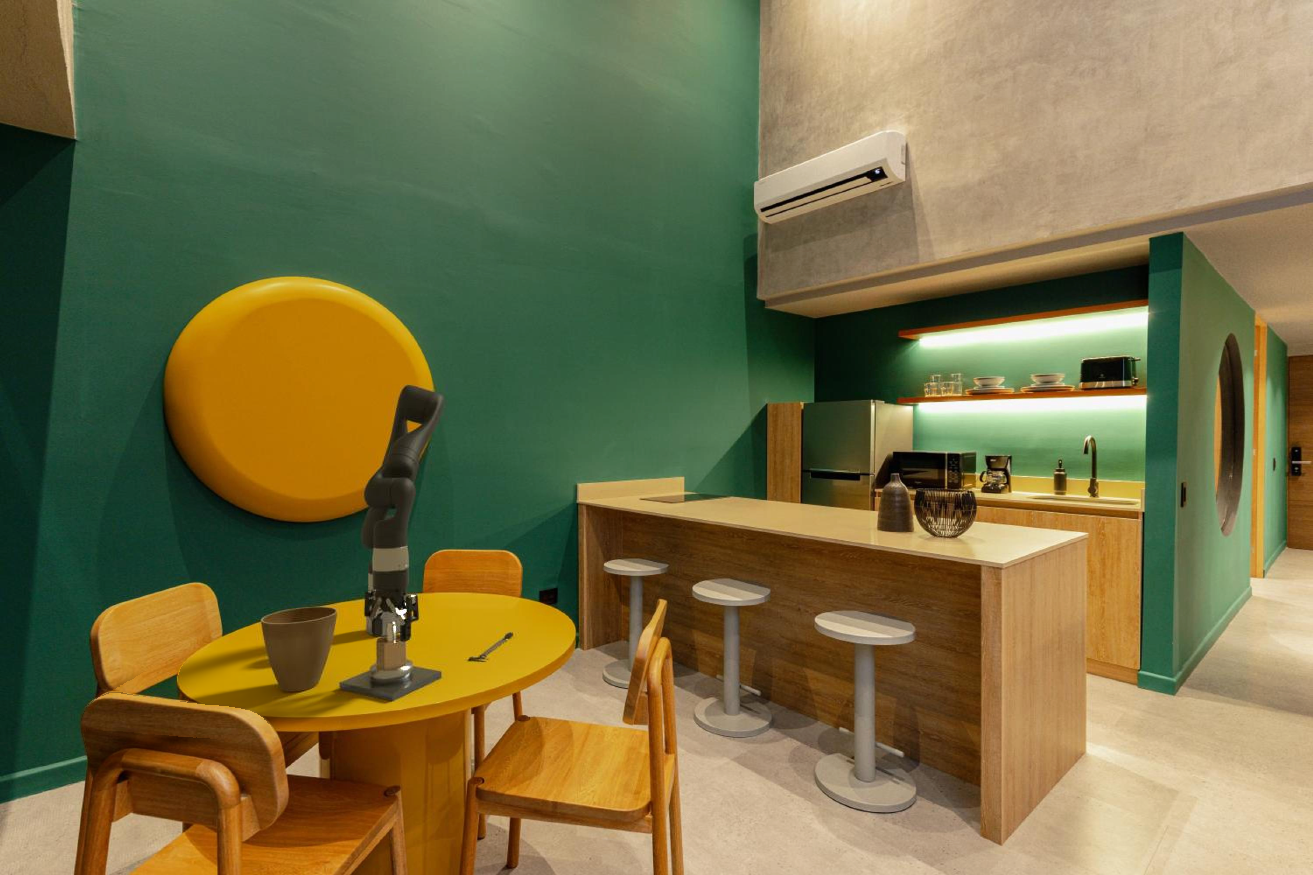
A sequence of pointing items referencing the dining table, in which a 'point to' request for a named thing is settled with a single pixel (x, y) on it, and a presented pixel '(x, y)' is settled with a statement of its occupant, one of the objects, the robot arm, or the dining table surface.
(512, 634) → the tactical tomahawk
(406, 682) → the piston base
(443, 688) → the dining table surface
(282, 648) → the plant pot
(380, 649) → the copper ring
